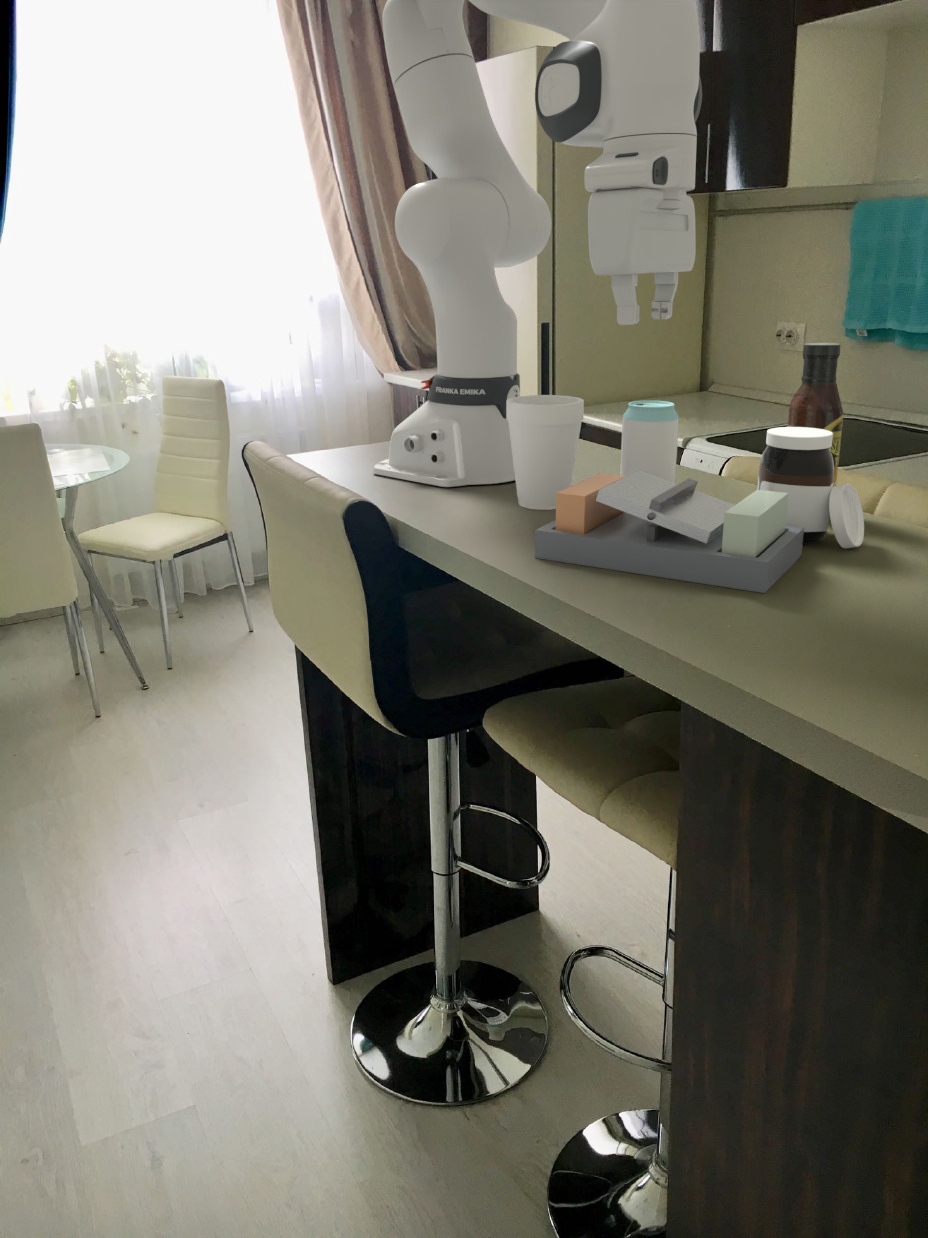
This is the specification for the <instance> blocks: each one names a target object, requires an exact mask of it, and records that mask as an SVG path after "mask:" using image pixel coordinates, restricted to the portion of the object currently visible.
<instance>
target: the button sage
mask: <svg viewBox="0 0 928 1238" xmlns="http://www.w3.org/2000/svg"><path fill="white" fill-rule="evenodd" d="M787 502H788V493H783V492H774V491H764V490H757V489H756V490H754V491H753V492H752V493H750V494H749V495H747V496H746V497H745V498H743V499H742V500H740V501H739V502H738V503H736V504H734V505H735V506H733V507H732V508H731V509H729V510H728V511H726V512H725V515H724V527H723V540H722V552H721V553H728V554H736V555H743V556H750V557H759V556H760V555H761V554H762V553H761V552H762V551H763V550H764V549H765V548H766V547H768V546H769V545H770V544H771V543H772V542H773V541H774V540H775V539H776V538H778V537H779V536H780V535H781V534H782V533H783V532H784V531H785V522H786V512H787Z"/></svg>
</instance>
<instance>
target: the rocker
mask: <svg viewBox="0 0 928 1238" xmlns="http://www.w3.org/2000/svg"><path fill="white" fill-rule="evenodd" d="M698 482H699V481H697V480H695V479H692V478H686V479H685V480H683V481H681V482H680V483H676V482H675V483H674V482H671V481H669V480H666V479H663V478H660V477H658V476H655V475H652V474H650V473H647V472H644V471H641V470H638V471H636V472H634V473H632V474H630V475H628V476H626V477H624V478H622V479H620V480H618V481H616V482H614V483H612V484H610V485H608V486H606V487H604V488H602V489H600V490H599V492H598V495H597V499H596V501H598V502H600V503H603V504H606V505H608V506H611V507H613V508H616V509H618V510H621V511H624V512H626V513H629V514H631V515H634V516H637V517H639V518H642V519H644V520H647V521H649V522H652V523H655V524H657V525H660V526H662V527H665V528H668V529H670V530H673V531H675V532H678V533H680V534H683V535H686V536H688V537H691V538H693V539H696V540H698V541H701V542H704V543H706V544H707V543H708V542H709V541H711V540H712V539H713V538H715V537H716V536H717V535H719V534H720V533H721V532H723V527H724V515H725V512H726V511H728V510H729V509H731V508H732V507H733V506H735V505H736V504H734V503H731V502H729V501H725V500H723V499H720V498H718V497H715V496H712V495H709V494H706V493H705V492H704V493H703V492H701V491H698V490H696V487H697V485H698Z"/></svg>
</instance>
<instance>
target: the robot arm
mask: <svg viewBox="0 0 928 1238" xmlns="http://www.w3.org/2000/svg"><path fill="white" fill-rule="evenodd" d="M468 2H470V3H471V4H472V5H473V6H475V7H476V8H477V9H479V11H482V12H484V13H486V14H488V15H490V16H494V17H496V18H502V19H506V20H511V21H514V22H518V23H521V24H522V23H524V24H528V25H531V26H536V27H540V28H543V29H546V30H549V31H551V32H554V33H556V34H559V35H561V36H563V37H565V38H567V39H568V41H563V42H562V41H561V42H560V43H558V44H557V45H556V46H555V47H554V48H552V50H550V52H549V53H548V54H547V56H546V57H545V59H544V60H543V62H542V63H541V65H540V67H539V70H538V73H537V77H536V82H535V89H534V91H535V92H534V103H535V109H536V111H535V112H536V115H537V119H538V121H539V125H540V126H541V128H542V130H543V131H544V132H545V134H546V135H547V136H548V137H549V139H550V140H552V142H556V143H560V144H563V145H566V146H572V147H582V148H583V147H584V148H585V147H589V148H595V149H596V148H597V149H603V151H602V152H603V153H601V154H600V155H599V157H598V158H596V159H595V160H593V161H592V162H590V163H589V164H588V165H586V167H585V169H584V177H583V179H584V181H583V182H584V189H585V190H586V191H587V192H589V193H590V192H591V195H590V197H589V200H588V204H587V205H588V206H587V231H588V232H587V237H588V254H589V255H588V256H589V261H590V264H591V268H592V271H593V273H594V274H595V275H596V276H611V291H612V294H613V298H614V301H615V302H614V303H615V305H616V322H617V324H618V325H619V326H625V325H626V326H629V325H630V326H631V325H636V324H638V323H639V322H640V313H641V311H640V307H641V305H639V304H638V303H637V293H636V287H638V280H639V279H638V277H639V276H638V275H639V274H654V285H656V286H655V293H654V300H653V301H651V318H652V319H653V320H668V319H670V318H672V316H673V306H674V305H673V304H674V303H673V301H674V300H675V299H674V298H675V297H676V296H675V295H676V292H677V290H678V289H677V288H678V286H679V273H680V272H681V273H682V272H684V273H685V272H691V271H692V270H693V268H694V265H695V261H696V252H697V251H696V250H697V249H696V247H697V246H696V239H697V238H696V210H695V203H694V200H693V198H692V197H691V196H690V195H687V192H691V191H693V190H695V188H696V169H697V168H696V167H697V166H696V163H697V140H698V138H697V136H698V132H697V131H698V130H697V125H696V122H697V119H698V117H699V115H700V111H701V107H702V102H703V86H702V80H701V76H700V61H701V60H700V56H701V55H700V47H701V46H700V27H699V16H698V11H697V6H696V2H695V0H468ZM464 3H465V0H387V1H386V3H385V5H384V7H383V12H382V17H381V18H382V19H381V20H382V31H383V32H382V33H383V41H384V49H385V54H386V60H387V65H388V70H389V74H390V79H391V82H392V87H393V91H394V93H395V96H396V101H397V104H398V108H399V111H400V115H401V117H402V121H403V125H404V127H405V128H404V129H405V131H406V136H407V139H408V142H409V145H410V147H411V150H412V151H413V152H414V154H415V155H416V156H417V158H419V160H420V161H422V162H423V163H424V164H426V165H427V167H428V168H429V169H431V171H432V172H433V173H434V174H435V176H436V178H434V179H430V180H427V181H423V182H419V183H416V184H415V185H412V186H410V187H409V188H408V189H407V190H406V191H405V192H404V193H403V194H402V196H401V198H400V199H399V201H398V204H397V207H396V210H395V216H394V231H395V236H396V239H397V243H398V246H399V247H400V248H401V251H402V252H403V253H404V254H405V256H406V257H407V258H408V259H409V260H410V261H411V262H412V263H413V265H414V266H415V267H416V268H417V269H418V272H419V273H420V275H421V277H422V280H423V282H424V284H425V287H426V289H427V292H428V296H429V299H430V302H431V307H432V311H433V315H434V316H433V317H434V323H435V324H434V325H435V338H436V339H435V341H436V342H435V343H436V363H437V364H436V365H437V371H436V372H437V373H436V374H435V375H433V376H432V377H431V378H429V379H426V380H421V381H420V383H421V384H425V385H422V387H420V389H421V390H427V389H428V393H427V397H426V401H425V402H424V403H423V404H422V405H420V406H419V407H417V409H416V410H415V411H413V412H412V413H411V414H409V416H407V417H406V418H405V419H404V420H402V422H400V423H399V424H398V425H397V426H396V427H395V428H394V429H393V431H392V433H391V435H390V441H389V448H388V458H386V459H383V460H381V461H379V462H377V463H375V464H374V466H373V474H374V475H379V476H385V477H390V478H395V479H400V480H406V481H411V482H416V483H421V484H425V485H432V486H438V487H443V488H452V487H461V486H468V485H469V486H470V485H492V484H500V483H507V482H512V481H515V473H514V465H513V456H512V448H511V440H510V432H509V424H508V420H506V400H508V399H510V398H513V397H519V396H521V380H520V379H521V376H520V373H518V364H517V363H518V320H517V319H518V318H517V315H516V313H515V311H514V309H513V308H512V307H511V306H510V305H509V304H508V303H507V302H506V301H505V299H504V297H503V295H502V293H501V290H500V287H499V284H498V279H497V277H496V271H495V269H496V268H497V269H499V268H511V267H515V266H517V265H520V264H522V263H526V262H527V261H530V260H533V259H534V258H536V257H537V256H539V254H541V253H542V252H543V250H545V247H546V245H547V244H548V242H549V239H550V236H551V231H552V217H551V216H552V215H551V211H550V209H549V205H548V204H547V202H546V200H545V199H544V197H542V195H540V193H538V191H536V190H535V189H534V188H533V187H532V186H531V185H530V184H529V182H528V181H526V179H525V177H524V175H523V174H522V173H521V171H520V169H519V168H518V166H517V165H516V164H515V162H514V159H513V157H512V156H511V154H510V152H509V151H508V150H507V147H506V146H505V144H504V141H503V139H502V138H501V136H500V135H499V132H498V131H497V127H496V125H495V124H494V120H493V118H492V115H491V113H490V112H491V111H490V109H489V106H488V103H487V99H486V96H485V92H484V89H483V86H482V82H481V79H480V75H479V72H478V67H477V64H476V61H475V57H474V54H473V51H472V47H471V44H470V41H469V39H468V36H467V32H466V30H465V25H464V19H463V10H464Z"/></svg>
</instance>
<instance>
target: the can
mask: <svg viewBox="0 0 928 1238" xmlns="http://www.w3.org/2000/svg"><path fill="white" fill-rule="evenodd" d="M627 405H628V407H627V409H626V410H625V412H624V413H623V414H622V424H621V447H620V468H619V469H620V470H619V473H620V475H621V476H628V475H630V474H632V473H634V472H636V471H638V470H641V471H644V472H647V473H650V474H652V475H655V476H658V477H660V478H663V479H666V480H669V481H671V482H674V483H676V472H677V469H676V468H677V457H678V442H679V441H678V440H679V423H680V417H679V414H678V412H677V411H676V409H675V406H676V405H675V403H674V402H670V401H666V400H636V401H631V402H628V404H627Z"/></svg>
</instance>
